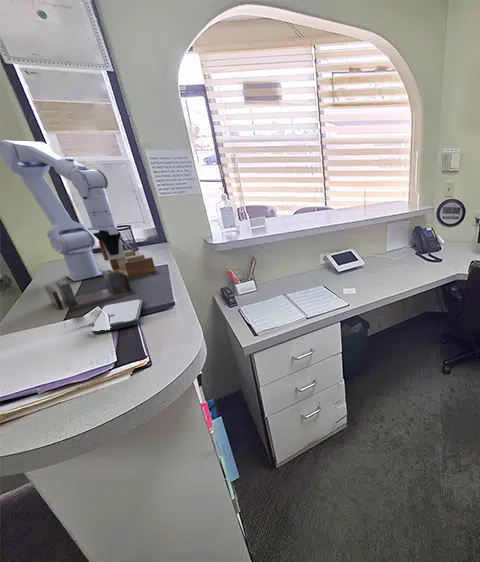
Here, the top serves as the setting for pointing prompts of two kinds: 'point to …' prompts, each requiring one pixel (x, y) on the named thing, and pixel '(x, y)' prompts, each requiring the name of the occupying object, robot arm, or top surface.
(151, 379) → the top surface
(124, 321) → the phone case
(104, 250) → the red boxy piece
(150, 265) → the wooden desk organizer
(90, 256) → the robot arm
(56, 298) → the grey book rack
